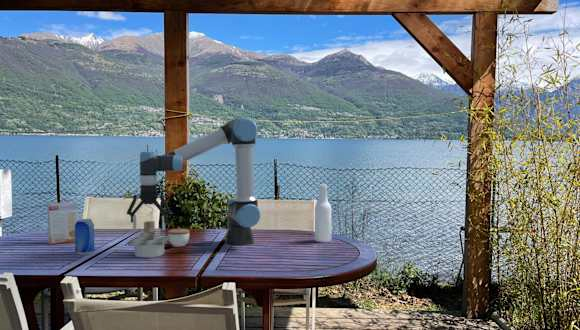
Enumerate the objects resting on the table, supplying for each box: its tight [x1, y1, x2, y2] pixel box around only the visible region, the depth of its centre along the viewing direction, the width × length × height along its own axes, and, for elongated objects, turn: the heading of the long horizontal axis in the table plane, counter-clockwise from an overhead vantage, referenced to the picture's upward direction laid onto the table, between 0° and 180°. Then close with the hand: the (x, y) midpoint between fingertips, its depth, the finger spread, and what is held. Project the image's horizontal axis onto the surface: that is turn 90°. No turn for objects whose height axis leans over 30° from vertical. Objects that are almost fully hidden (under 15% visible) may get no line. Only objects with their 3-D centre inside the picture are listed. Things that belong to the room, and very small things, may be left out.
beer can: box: [74, 218, 95, 256], centre depth 254 cm, size 8×8×16 cm
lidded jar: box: [167, 226, 191, 248], centre depth 273 cm, size 11×11×9 cm
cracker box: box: [46, 201, 79, 245], centre depth 281 cm, size 14×6×21 cm, turn 123°
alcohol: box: [314, 183, 332, 243], centre depth 284 cm, size 9×9×30 cm
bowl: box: [134, 243, 165, 258], centre depth 253 cm, size 13×13×6 cm
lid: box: [126, 220, 170, 246], centre depth 253 cm, size 16×16×9 cm
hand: (149, 229), depth 253 cm, fingers open, 13 cm apart
